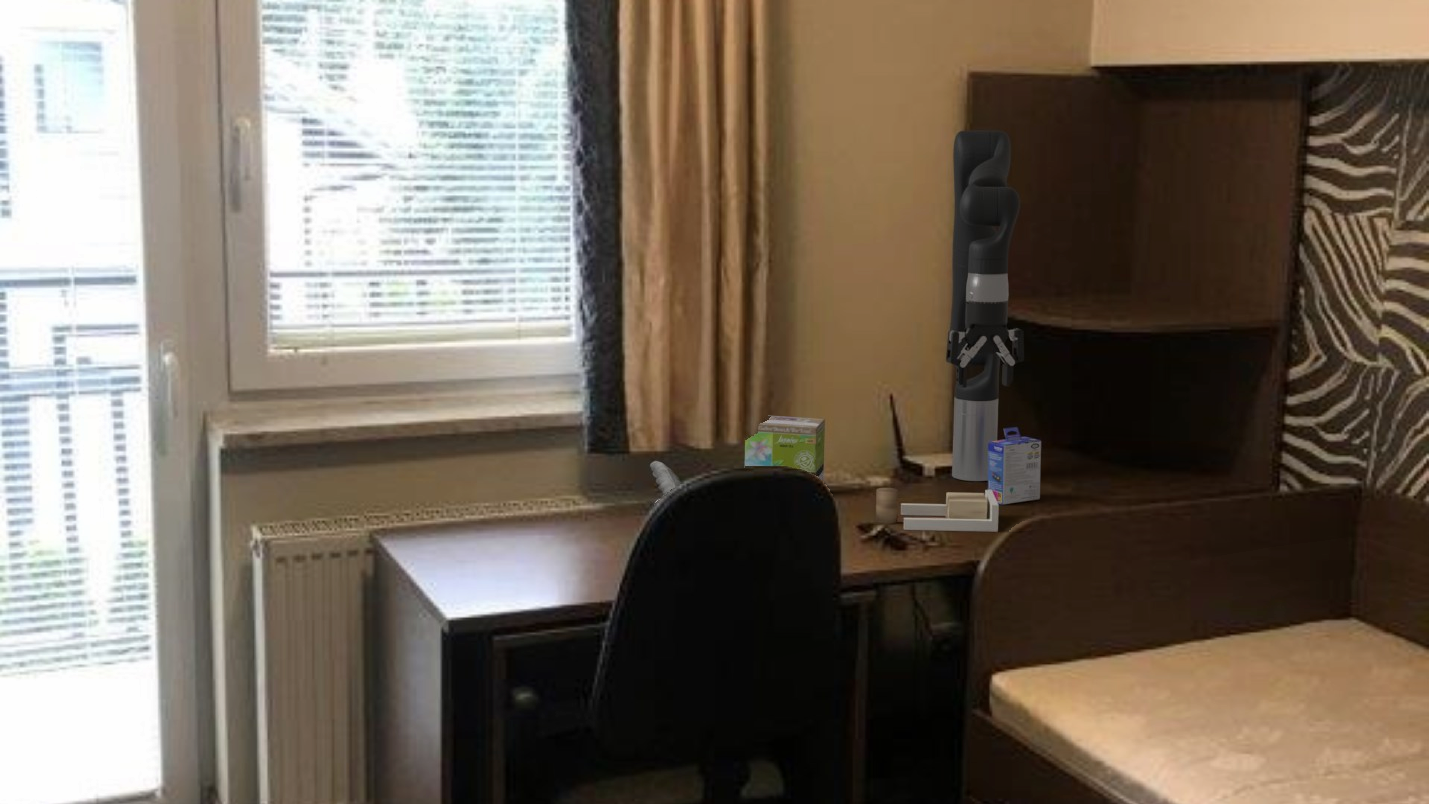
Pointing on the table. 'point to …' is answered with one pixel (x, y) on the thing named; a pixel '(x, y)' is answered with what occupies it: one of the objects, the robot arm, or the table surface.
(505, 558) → the table surface
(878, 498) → the beech mallet
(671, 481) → the grey ribbed curved piece
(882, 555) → the table surface
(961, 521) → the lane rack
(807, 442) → the tea box
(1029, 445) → the ink cartridge box
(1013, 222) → the robot arm
